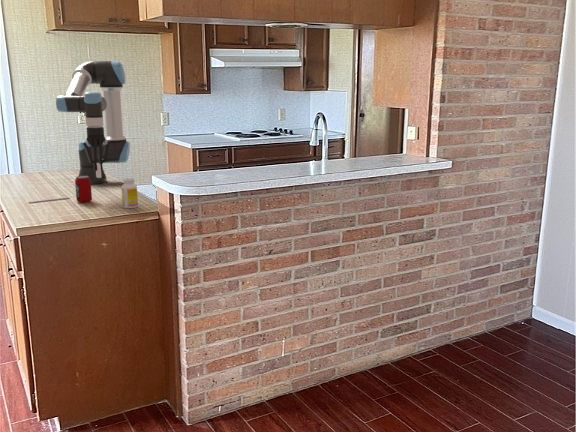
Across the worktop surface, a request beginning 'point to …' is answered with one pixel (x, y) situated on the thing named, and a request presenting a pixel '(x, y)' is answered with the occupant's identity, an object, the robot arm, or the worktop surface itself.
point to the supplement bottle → (129, 193)
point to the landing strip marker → (49, 200)
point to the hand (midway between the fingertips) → (98, 177)
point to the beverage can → (83, 189)
